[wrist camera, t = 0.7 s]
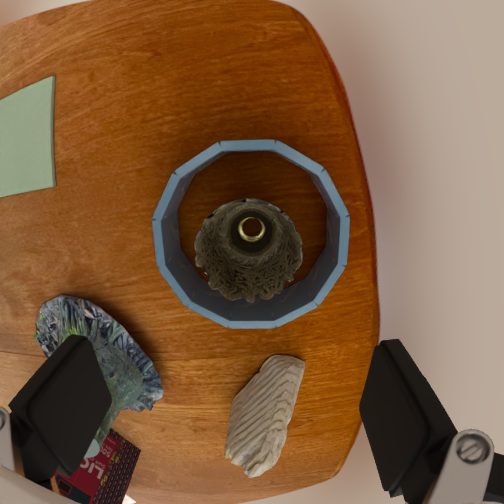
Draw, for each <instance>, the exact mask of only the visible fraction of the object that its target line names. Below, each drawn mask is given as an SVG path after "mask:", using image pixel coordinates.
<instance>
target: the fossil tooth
mask: <svg viewBox="0 0 504 504" xmlns="http://www.w3.org/2000/svg"><path fill="white" fill-rule="evenodd" d="M304 369H305V362H304V361H302V360H300V359H297V358H295V357H293V356H283V355H274V356H271V357H270V358H268V359H267V360H266V361H265V363H264V364H263V365H262V367H261V369H260V372H259V373H257V374H256V375H255V376H254V377H253V378H252V379H251V380H250V381H249V383H248V384H247V385H246V386H245V387H244V388H243V389H242V390H241V391H240V392H239V393H238V394H237V395H236V396H235V397H234V399H233V400H232V404H233V405H232V407H231V413H230V419H229V422H230V424H229V426H228V429H229V430H228V431H227V436H228V437H227V438H226V442H227V444H226V445H225V449H226V450H225V453H224V455H225V456H226V458H228V459H232V460H231V463H233V464H235V465H237V466H240V465H242V467H244V472H243V473H245V474H247V475H248V477H249V478H251V477H255V476H259V475H261V474H263V473H264V472H265V471H266V470H268V469H271V467H273V465H275V463H276V462H277V460H278V458H279V456H280V454H281V448H282V447H283V445H284V443H285V440H286V437H287V429H286V428H287V425H288V423H289V422H290V420H291V417H292V413H293V410H294V409H293V408H294V404H295V403H296V398H297V393H298V391H299V387H300V384H301V380H302V377H303V373H304Z"/></svg>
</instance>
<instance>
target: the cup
mask: <svg viewBox="0 0 504 504" xmlns="http://www.w3.org/2000/svg"><path fill="white" fill-rule="evenodd" d="M249 219H255V220H257V221H258V222H259V223H260V225H261V230H260V232H259V233H258V234H257V235H255V236H249V235H247V234H246V233H245V232H244V230H243V225H244V223H245V222H246V221H247V220H249ZM301 245H302V239H301V236H300V235H299V234H298V232H297V231H296V228H295V226H294V224H293V223H292V222H291V220H290V218H289V216H288V215H287V214H286V213H284V212H283V211H282V210H280V209H279V208H278V207H276V206H275V205H273V204H271V203H269V202H267V201H264V200H261V199H255V198H244V199H239V200H235V201H232V202H229V203H226V204H223V205H222V206H220V207H218V208H217V209H216V210H214V212H213V213H212V214H211V215H210V216H209V217H207V218H205V220H204V221H203V226H202V228H201V229H200V231H199V232H198V234H197V236H196V238H195V241H194V248H195V251H196V256H195V264H196V266H197V267H203V270H204V273H205V274H207V276H208V277H209V282H208V285H209V286H210V287H211V289H213V290H216V289H218V290H219V291H220V293H221V294H222V295H223V296H224V297H225V298H227V299H229V300H238V299H241V298H246V299H245V300H247V301H248V302H250V303H253V302H254V301H255V299H256V297H257V296H258V295H259V296H260V297H261V298H262V299H264V300H267V299H270V298H272V297H273V296H274V293H275V294H276V293H277V294H280V293H281V291H282V290H283V288H284V286H285V285H286V281H289V282H290V281H293V280H294V278H295V271H296V270H297V269H298V268H299V267H300V265H301V263H302V260H303V254H302V246H301Z"/></svg>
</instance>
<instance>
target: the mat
mask: <svg viewBox="0 0 504 504" xmlns="http://www.w3.org/2000/svg"><path fill="white" fill-rule="evenodd" d="M54 91H55V76H51V77H48V78H46V79H43V80H41V81H39V82H37V83H34V84H32V85H30V86H28V87H26V88H23V89H21V90H19V91H17V92H15V93H13V94H11V95H9V96H7V97H5V98H4V99H2V100H0V197H5V196H9V195H14V194H18V193H23V192H28V191H33V190H39V189H44V188H50V187H55V186H56V179H55V165H54V139H53V116H54Z"/></svg>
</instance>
